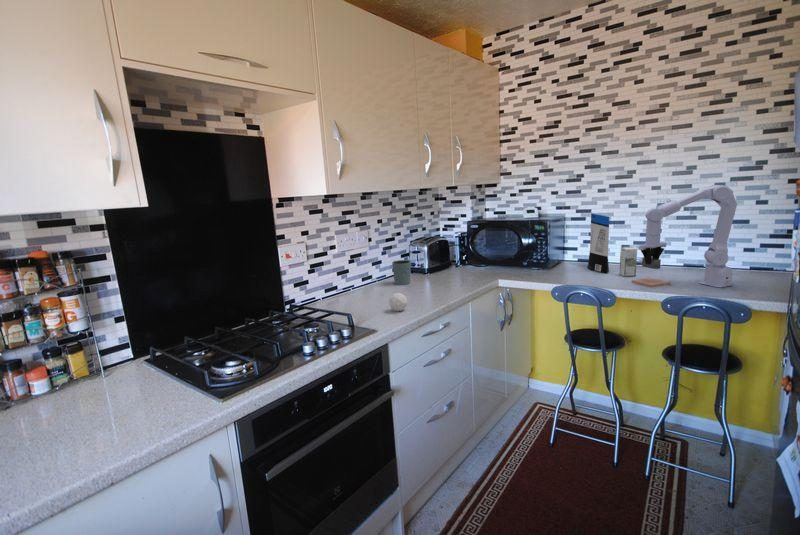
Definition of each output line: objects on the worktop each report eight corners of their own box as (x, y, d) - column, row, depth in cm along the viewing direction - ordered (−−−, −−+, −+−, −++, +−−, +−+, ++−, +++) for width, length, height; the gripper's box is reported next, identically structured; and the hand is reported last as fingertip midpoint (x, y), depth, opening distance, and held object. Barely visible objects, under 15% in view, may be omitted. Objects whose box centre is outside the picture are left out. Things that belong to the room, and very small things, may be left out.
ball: (398, 318, 177) (390, 307, 172) (391, 307, 183) (383, 296, 178) (413, 307, 177) (405, 296, 172) (405, 297, 184) (397, 286, 178)
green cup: (400, 280, 233) (399, 259, 231) (415, 282, 227) (414, 260, 225) (389, 284, 225) (388, 262, 223) (405, 286, 219) (403, 264, 217)
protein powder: (597, 274, 219) (599, 217, 213) (581, 265, 243) (582, 213, 237) (616, 273, 218) (618, 216, 212) (598, 264, 242) (599, 212, 236)
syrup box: (630, 273, 215) (632, 246, 213) (636, 276, 210) (637, 248, 207) (619, 274, 216) (620, 246, 213) (624, 276, 210) (625, 248, 207)
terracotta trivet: (669, 284, 192) (670, 281, 192) (651, 287, 189) (651, 285, 189) (649, 279, 203) (649, 277, 202) (631, 282, 199) (631, 280, 199)
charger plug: (662, 268, 191) (662, 259, 190) (656, 269, 190) (656, 260, 189) (643, 264, 201) (643, 256, 200) (637, 265, 200) (637, 257, 199)
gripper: (657, 232, 197) (655, 260, 200) (633, 235, 193) (632, 264, 196) (671, 233, 190) (669, 262, 193) (646, 236, 186) (644, 266, 189)
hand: (651, 263), depth 194 cm, fingers closed on charger plug, 4 cm apart
